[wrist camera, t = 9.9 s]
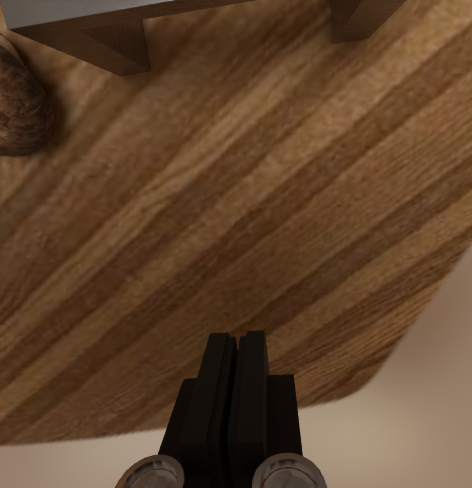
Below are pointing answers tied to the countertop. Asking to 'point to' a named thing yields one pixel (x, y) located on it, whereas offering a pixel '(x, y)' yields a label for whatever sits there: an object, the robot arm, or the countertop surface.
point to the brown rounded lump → (21, 106)
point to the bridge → (131, 28)
